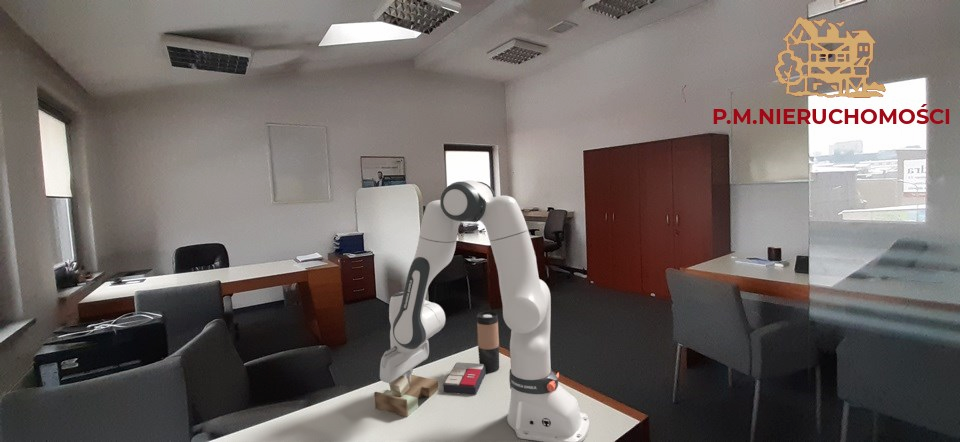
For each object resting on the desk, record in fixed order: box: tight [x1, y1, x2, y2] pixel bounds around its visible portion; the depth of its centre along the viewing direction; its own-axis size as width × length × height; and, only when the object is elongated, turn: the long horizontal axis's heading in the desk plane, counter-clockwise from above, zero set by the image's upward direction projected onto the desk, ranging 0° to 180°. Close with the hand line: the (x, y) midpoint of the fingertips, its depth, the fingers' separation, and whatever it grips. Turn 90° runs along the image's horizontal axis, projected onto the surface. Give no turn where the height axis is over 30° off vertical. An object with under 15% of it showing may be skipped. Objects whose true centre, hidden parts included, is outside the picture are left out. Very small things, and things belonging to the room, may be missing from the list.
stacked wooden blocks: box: [373, 374, 440, 418], centre depth 124 cm, size 12×17×5 cm
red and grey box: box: [442, 361, 487, 396], centre depth 133 cm, size 11×4×15 cm
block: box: [388, 376, 410, 397], centre depth 121 cm, size 4×4×4 cm
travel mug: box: [476, 311, 500, 374], centre depth 142 cm, size 8×8×20 cm
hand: (406, 383), depth 124 cm, fingers closed
